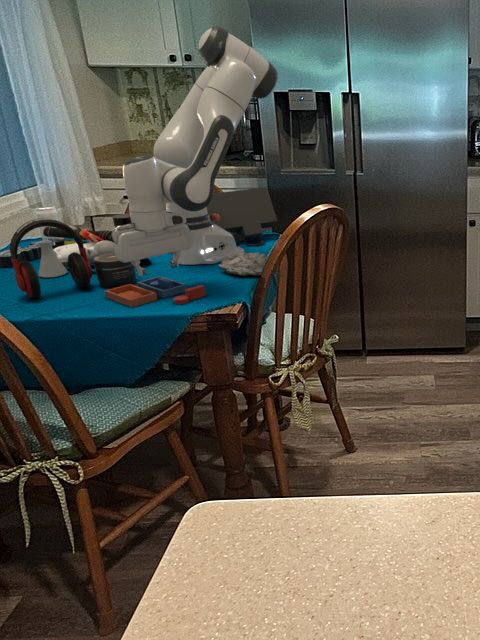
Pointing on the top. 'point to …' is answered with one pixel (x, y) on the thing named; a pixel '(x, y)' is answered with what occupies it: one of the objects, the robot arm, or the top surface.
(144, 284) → the blue tray
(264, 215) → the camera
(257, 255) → the rock
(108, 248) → the round bodied animal figurine
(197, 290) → the red paddle shape
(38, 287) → the headphones
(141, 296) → the terracotta tray
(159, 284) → the navy paddle shape
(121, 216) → the ink bottle
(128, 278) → the jar
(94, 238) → the toy figure
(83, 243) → the sponge
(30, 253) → the logo
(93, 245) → the binoculars
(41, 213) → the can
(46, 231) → the flashlight
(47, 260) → the flask
